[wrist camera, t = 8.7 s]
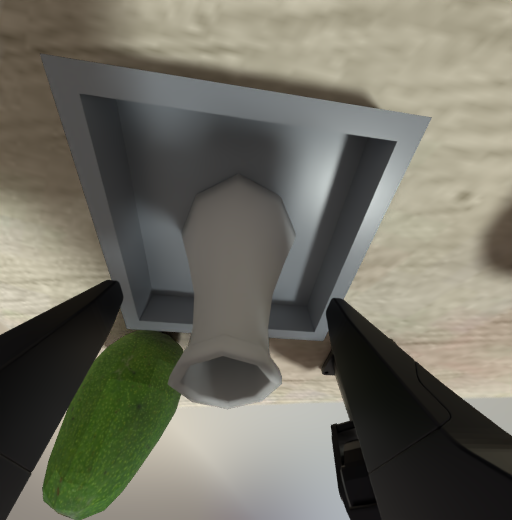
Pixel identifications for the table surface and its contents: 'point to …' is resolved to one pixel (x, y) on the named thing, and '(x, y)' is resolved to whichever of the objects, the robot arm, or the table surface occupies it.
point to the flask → (232, 293)
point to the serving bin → (220, 169)
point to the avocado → (112, 423)
